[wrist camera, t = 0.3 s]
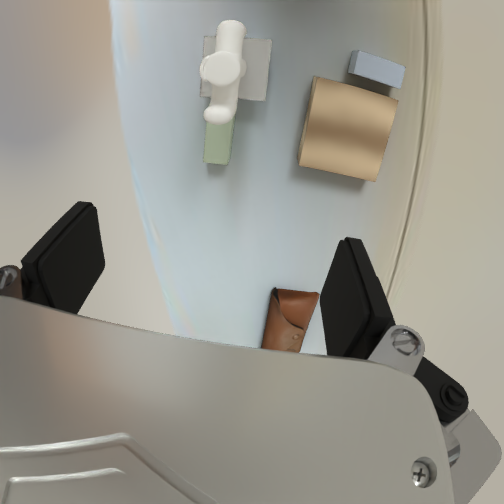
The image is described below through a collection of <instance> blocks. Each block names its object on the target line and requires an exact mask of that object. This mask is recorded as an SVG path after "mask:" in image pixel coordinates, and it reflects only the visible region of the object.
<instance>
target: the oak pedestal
mask: <svg viewBox="0 0 504 504" xmlns="http://www.w3.org/2000/svg"><path fill="white" fill-rule="evenodd" d="M397 104H398V100H396V99H393V98H390V97H387V96H384V95H381V94H378V93H375V92H372V91H368V90H365V89H362V88H358V87H355V86H351V85H348V84H344V83H340V82H336V81H332V80H328V79H324V78H320V77H315V76H314V78H313V83H312V88H311V93H310V98H309V103H308V108H307V113H306V118H305V123H304V128H303V133H302V137H301V142H300V147H299V152H298V156H297V160H298V163H299V166H304V167H309V168H314V169H319V170H324V171H329V172H334V173H338V174H343V175H347V176H352V177H356V178H360V179H364V180H369V181H373V182H375V181H376V178H377V175H378V172H379V169H380V165H381V162H382V159H383V155H384V152H385V149H386V145H387V142H388V138H389V135H390V131H391V127H392V124H393V120H394V116H395V112H396V108H397Z"/></svg>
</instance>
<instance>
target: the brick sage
mask: <svg viewBox="0 0 504 504" xmlns="http://www.w3.org/2000/svg"><path fill="white" fill-rule="evenodd" d="M234 122H235V115H234V116H233V118H232V119H231V120H230V121H229V122H228V123H226V124H222V125H214V124H210V123H208V122H206V133H205V144H204V156H203V162H205V163H214V164H222V165H228V162H229V160H230V155H231V146H232V138H233V130H234Z"/></svg>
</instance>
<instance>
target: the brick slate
mask: <svg viewBox="0 0 504 504" xmlns="http://www.w3.org/2000/svg"><path fill="white" fill-rule="evenodd" d="M404 71H405V67H404V66H402V65H399V64H397V63H394V62H392V61H389V60H386V59H383V58H381V57H378V56H375V55H372V54H369V53H366V52H363V51H360V50H356V51H352V56H351V60H350V65H349V70H348V73H351V74H354V75H357V76H361V77H364V78H367V79H370V80H373V81H376V82H379V83H382V84H385V85H388V86H391V87H394V88H398V89H400V88H401V84H402V80H403V76H404Z"/></svg>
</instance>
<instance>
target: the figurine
mask: <svg viewBox="0 0 504 504" xmlns="http://www.w3.org/2000/svg"><path fill="white" fill-rule="evenodd" d="M246 34H247V29H246V28H245V26H244V25H243V24H242V23H241V22H239V21H235V20H225V21H223V22H221V23H220V24H219V25H218V27H217V33H216V36H204V47H203V59H202V62H201V64H200V68H199V72H200V76H201V87H200V97H211V101H210V104H209V106H208V108H206V110H205V111H204V114H203V117H204V119H205V121H207V122H208V123H210V124H214V125H222V124H226V123H228V122H229V121H230V120H231V119H232V118H233V116H234V115H235V113H236V110H237V100H238V99H245V100H256V101H265V99H266V90H267V81H268V72H269V63H270V55H271V46H272V40H267V39H256V38H244V37H245V36H246Z"/></svg>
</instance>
